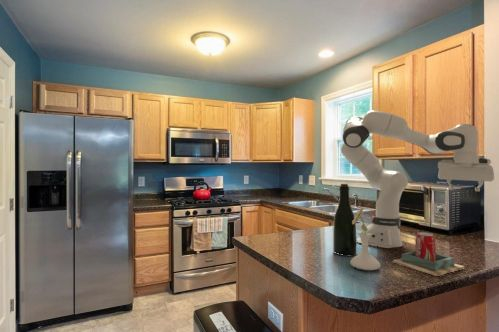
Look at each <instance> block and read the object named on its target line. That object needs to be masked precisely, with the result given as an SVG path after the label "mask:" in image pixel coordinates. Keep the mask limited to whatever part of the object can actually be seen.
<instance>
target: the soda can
mask: <svg viewBox="0 0 499 332" xmlns="http://www.w3.org/2000/svg"><path fill="white" fill-rule="evenodd" d="M436 243H437V242H436V238H435V237H434V234H433V233H431V232H426V231H425V232H424V231H419V232H417V234H416V235H415V251H416V257H418V258H421V259H425V260H428V261H432V262H434V261H435V260H436V250H437V249H436V248H437V246H436Z"/></svg>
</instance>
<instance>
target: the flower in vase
mask: <svg viewBox="0 0 499 332" xmlns="http://www.w3.org/2000/svg"><path fill="white" fill-rule="evenodd" d="M363 211H364V207H363V206H362V207H360V208H359V210H357V212H356V215H354V216H355V217H354V218H355V219H354V220H353V221H352V222H353V223H352V224H355V223H356V224H357V222H358V220H359V219H360V220H361V222H362V225H361V229H362V230H363V231H367V230H368V229H367V226H366V225H365V222H364V220H363V218H362V213H363ZM362 230H361V232H362V233H361V232H358V235H359V237H360V238H361V241H362V244H361V251H360V252H359V253H358V254H356V255H354V256H353V257H352V258H351V259H350V263H349V264H350V265H351V266H352V267H353V268H355V267H356V268H355V269H358V270H361V269H362V270H363V271H375V270H378V269H380V267H381V262H379V260H378V259H377V258H375V257H374V256H373V255H372V254H371V253H370V252H369V245H368V241H369V238H370V236H371V235H372V234H370V233H363V231H362Z"/></svg>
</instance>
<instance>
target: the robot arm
mask: <svg viewBox="0 0 499 332" xmlns="http://www.w3.org/2000/svg"><path fill="white" fill-rule="evenodd" d="M370 134H376V135H378V136H381V137H382V136H383V137H385V138H390V139H394V140H398V141H399V140H400V141H403V142H406V143H409V144H412V145H416V146H418V147H420V148H422V149H423V150H424V151H425V152H427V153H428V154H429V155H433V156H434V155H435V156H436V155H442V154H443V153H448V152H453V159H442V160H439V161H438V162H437V168H438V173H437V174H438V175H437V178H438V179H439V180H446V183H447V184H448V186H449V190H450V191H453V190H454V188H455V186H454V185H452V184H451V182H452V181H470V182H471V181H473V182H477V183H478V186H477V187H476V186H475V187H474V191H475V192H480V191H481V188H482V186H483V185H484V182H493V181H494V180H495V173H494V167H493V166H492V165H490V164H491V163H492V160H491V159H490V158H485V157H482V156H479V155H478V154H479V152H478V150H477V149H478V146H479V145H478V144H479V132H478V129H477V127H476V126H475V125H473V124H468V123H465V124H464V123H460V124H457V125H455V126H454V127H452V128H450V129H446V130H443V131H439V132H437V133H434V134H426V133H422V132H420V131H417V130H414V129H411V128H409V125H408V122H407V120H406V119H405V118H403V117H401V116H399V115H397V114H393V113H391V112H386V111H381V110H369V111H367V112H366V113H365V114H364V116H363V117H360V116H356V115H355V116H352V117H350V118H348V119H347V120H346V122H345V124H344V128H343V133H342V140H343V141H342V142H343V144H342V145H341V147H340V152H341V154H342V155H343V157H344V158H345V159H346V160H347V161H348V162H349V163H350V164H351V165H352V166H353V167H355V168H356V169H357V170H358V171H359V172H360V173H361V174H362V175H363V176H364V177H365V178H366V180H367V182H368V184H369V185H370V186H371V187H372V188H373V189H375V190H378V191H380V192H379V196H378V198H377V200H376V201H375V216H374V215H372V216H371V223H370V224H368V225H367V226H366V227H367V229H368V230H367V231H363V229H362V230H361V232H360V233H362V231H363V233H370V234H372V235H371V236H370V238H369V241H368V246H370V245H371V247H377V246H378V248H385V249H391V248H400V247H403V246H404V245H403V242H402V238H401V237H402V236H401V231H400V229H401V219H400V200H401V197H402V194H403V191H404V190H405V189H406V188H408V184H409V183H408V182H409V181H408V177H407V176H406V175H405V173H403V172H402V171H401V172H400V171H398V170H387V169H386V168H384V167H383V165H382V164H381V163H380V159H379V158H378V157H377V156H376V155H375V154H374V153H373V152H371V151H370V150H369V149H368V148H367V147H366V146H364V143H365V141H367V139H368V138H370ZM357 242H358V243H357ZM356 243H357V244H359V243H361V244H360V245H362V241H361V238H360V236H359V237H356Z"/></svg>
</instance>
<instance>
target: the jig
mask: <svg viewBox="0 0 499 332" xmlns="http://www.w3.org/2000/svg"><path fill="white" fill-rule="evenodd" d="M393 262H395V263H398V264H401V265H404V266H406V267H405V268H407V267H410V268H413V269H416V270H419V271H422V272H426V273H429V274H432V275H435V276H439V275H443V274H446V273H450V272H453V273H455V272H454V271H457V272H459V271H458V270H460V271H463V270H465V266H464V265H460V264H456V263H455V257H451V256H447V255H444V254H440V253H436V260H435V261H434V262H432V261H428V260H425V259H421V258H418V257H416V250H413V251H409V252H404V253H403V252H402V253H401V257H400V258H397V259H392V263H393ZM398 264H397V265H398ZM401 265H400V266H401ZM404 266H403V267H404ZM410 268H409V269H410ZM413 269H412V270H413ZM462 269H463V270H462ZM416 270H415V271H416ZM419 271H418V272H419ZM422 272H421V273H422ZM450 274H451V273H450ZM443 276H444V275H443Z"/></svg>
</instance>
